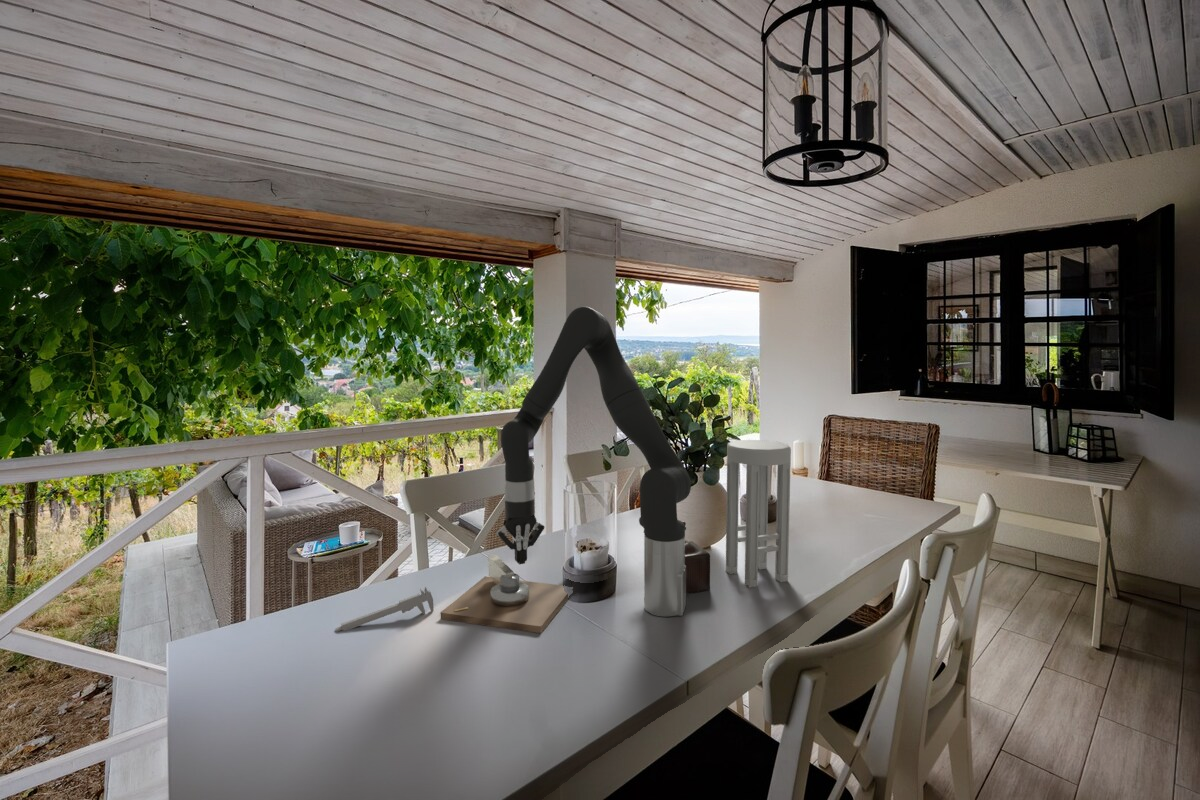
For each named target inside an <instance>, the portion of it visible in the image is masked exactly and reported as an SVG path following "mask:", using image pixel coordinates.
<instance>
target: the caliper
mask: <svg viewBox="0 0 1200 800" xmlns="http://www.w3.org/2000/svg"><path fill="white" fill-rule="evenodd" d="M419 591H420V593H417V594H414V595H411V596H409V597H407V598H403V599H401V600H399V601H398V603H395V604H392V605H389V606H387V607H384V608H382V609H377V610H375V611H372V612H370V613H368V614H364V615H360V616H359V617H356V618H353V619H350V620H348V621H344V622H343V623H341V626H338V627H336V628H335V630H334V632H335V633H338V632H339V631H346V630H352V629H354V628H357V627H360V626H362V625H365V624H368V623H370V622H373V621H376V620H378V619H381V618H384V617H386V616H389V615H390V616H391V615H392V614H395V613H397V612H402V614H405V613H406V612H410V611H411V610H413V609H414V608H415V607H417V608H418V610H419V611H420V613H422V615H423V616H424V615H426V609H425V607H424V604H423V603H425V602H427V603H428V606H429V610H430V613H431V614H432V613H433V612H435V611H434V598H433V595H432V592H431V590H428V589H427V586H424V590H423V589H422V588H420V589H419Z"/></svg>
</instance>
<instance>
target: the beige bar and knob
mask: <svg viewBox="0 0 1200 800" xmlns="http://www.w3.org/2000/svg"><path fill="white" fill-rule="evenodd" d="M487 558H488V559H487V560H488V561H487V563H488V566H487V567H488V571H487V572H488V577H491V579H492V580H493V581H494V582H495V583H496V584H497V585H495V586H494V587H492V588H491V590H490V594H491V602H492V603H494V604H496V605H499V606H515V605H519V604H522V603H524V602H526V601H527V600H528V599H529V597H530V594H529V586H528V585H527V584H525V583H522V582H519V580H520V575H519V574H518V573H514V571H513V570H512V568H510V567H509V566H508V565H507V564H506V563H505V562H504V561H503V560H502V559H501V558H500V557H499V556H498V555H497V554H491V555H488V557H487Z"/></svg>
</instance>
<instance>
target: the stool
mask: <svg viewBox="0 0 1200 800" xmlns="http://www.w3.org/2000/svg"><path fill="white" fill-rule="evenodd" d="M726 448H727V449H726V450H727V451H726V452H727V453H726V455H727V456H726V508H725V509H726V512H725V513H726V514H725V515H726V519H725V521H726V523H725V524H726V525H725V527H726V529H725V532H726V533H725V572H727V573H728V574H729V573H730V575H733V573H734V574H738V565H739V564H738V562H739V559H738V557H739V555H738V554H739V552H738V551H739V543H742V542H745V543H744V544H745V545H744V546H745V547H744V549H745V551H744V552H745V553H744V554H745V555H744V584H745V585H746V586H748V587H749V588H755V587H758V577H759V576H758V575H759V574H758V572H759V571H758V570H765V569H767V568H768V567H767V566H768V565H767V562H768V553H769V552H770V553H771V552H775V563H774V564H775V566H774V567H775V569H774V570H775V572H774V574H775V575H774V579H775V581H778V582H779V583H784V582H785V583H786V582H788V581H789V542H790V504H791V502H790V501H791V498H790V497H791V496H790V495H791V460H792V459H791V458H792V457H791V456H792V455H791V454H792V448H791V447H790V445H789V444H788V443H786V442H785V443H784V442H781V441H775V440H767V439H766V440H765V439H764V440H763V439H739V440H733V441H730V442H727V447H726ZM740 464H743V465H746V475H745V476H746V483H745V484H746V488H745V489H746V490H745V524H741V525H739V495H740V494H739V493H740V489H739V488H740V482H739V481H740V477H739V476H740ZM770 466H777V468H776V469H777V472H776V473H777V475H776V477H777V479H776V522H775V524H776V526H775V527H776V528H775V533H768V524H769V523H768V522H769V521H768V519H769V517H768V514H769V503H768V502H769V470H770V469H769V467H770ZM741 531H745V535H741V536H739V532H741ZM771 540H773V541H774V540H775V544H774V545H773V544H771V545H768V541H771Z"/></svg>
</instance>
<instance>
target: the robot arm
mask: <svg viewBox="0 0 1200 800" xmlns="http://www.w3.org/2000/svg"><path fill="white" fill-rule="evenodd" d="M563 324H564V325H563V326H562V329H561V330H560V333H559V335H558V338H557V340H556V342H555V344H554V346H553V348H552V351H551V353H550V355H549V357H548V359H547V360H546V362H545V364H544V366H543V368H542V370H541V372H540V373H539V375H538V377H537V378H536V379H535V381H534V383H533V384H532V385H531V387H530V388H529V390H528V392H527V393H526V395H525V397H524V398H523V400H522V403H521V404H522V405H521V408H520V409H519V411H518V412H517V414H516V416H515V417H514V418H513V419H512V420H509V421H508V422H506V423H505V424H504V426H503V427H502V429H501V434H500V435H501V436H500V438H501V439H500V441H501V448H502V454H503V458H504V462H505V466H504V467H505V468H504V472H505V473H504V474H505V479H504V480H505V482H504V517H505V519H504V522H503V526H502V527H501V528H500V529H496V530H495V534H496V535H497V536H498V538H499V539H500V540H501V541H502V542H503V543H504V544H505V545H506V546H507V547H508V548H509V549H510V550H512V551H513V550H514V561H515V562H516V563H517V564H518V565H524V564H526V562H527V560H528V548H529V547H533V546H534V545H535V544H536V542H537V541H538V539H539V537H540V536H541V534H542V532H544V530H545V525H543V524H542V523H540V522H538V521H537V518H536V515H535V514H536V510H535V509H536V502H535V499H536V498H535V497H536V496H535V495H536V492H535V482H534V462H533V458H532V457H531V456H530V447H529V445H530V444H529V443H530V442H532V440H534V438H535V437H536V435H537V433H538V432H539V430H540V428H541V426H542V425H543V422H544V420H545V418H546V416H547V415H548V414H549V412H550V411H551V410H552V408H553V407H554V405H555V404H556V403H557V401H558V399H559V397H560V396H561V394H562V392H563V390H564V387H565V384H566V382H567V378H568V375H569V371H570V369H571V367H572V366H573V363H574V361H575V359H576V358H577V356H578V355H579V354H580V353H581V352H582V350H583V349H584V350H585V351H586V353H587V354H588V356H589V358H590V359H591V361H592V363H593V365H594V366H595V369H596V371H597V374H598V380H599V385H600V390H601V395H602V399H603V401H604V403H605V407H606V409H607V410H608V412H609V413H608V414H610V417H611V418H612V421H613V422H614V424H615V425H616V427H617V428H618V429H619V431H621V432H622V434H624V435H625V436H626V438H627V439H629V440H630V441H631V443H633V444H634V445H635V446H636V447H637V448H638V449H639V450H640V452H641V454H642V455H643V457H644V458H645V460H646V462H647V464H648V466H649V469H648V470H647V471H646V472H645V473H643V475H642V477H641V480H640V485H639V509H640V517H641V522H642V525H643V527H644V528H643V527H642V528H643V534H644V535H643V537H644V538H643V539H644V541H643V543H644V555H643V556H644V558H643V559H644V562H643V564H644V565H643V566H644V567H643V568H644V570H643V571H644V573H643V575H644V576H643V579H644V580H643V581H644V583H643V584H644V587H643V589H644V590H643V591H644V593H643V594H644V597H643V603H644V604H643V607H644V610H645V611H646V612H647V613H649V614H651V615H653V616H658V617H675V616H684V615H683V614H684V611H685V609H686V605H687V594H686V565H685V540H686V530H685V527H686V525H684V523H683V522H682V520H679V519H678V510H677V507H678V506H677V504H678V503H681V502H682V501H684V500H686V499H687V498H688V497H689V495H690V493H691V490H692V481H691V477H690V475H689V473H688V471H687V469H686V467H685V466H684V464H683V463H682V462H681V459H680V458H679V457H678V454H676V452H675V450H674V449H673V447H672V445H670V442H669V441H668V439H667V438H666V436H665V433H664V432H663V430H662V428H661V426H660V424H659V422H658V420H657V418H656V416H655V414H654V412H653V411H652V409H651V406H650V404H649V402H648V400H647V397H646V396H645V394H644V392H643V390H642V388H641V386H640V384H639V382H638V381H637V379H636V377H635V376H634V374H633V372H632V370H631V369H630V367H629V365H628V364H627V362H626V361H625V358H624V357H623V355H622V352H621V350H620V347H619V345H618V342H617V340H616V337H615V334H614V331H613V329H612V326H611V324H610V322H609V320H608V319H607V317H605V315H604V314H602V313H601V312H599V311H597V310H596V309H594V308H592V307H589V306H579V307H576V308H575V309H573V310H572V311H571V312H570V313H569V314H568V317H567V318H566V320H565V322H564V323H563ZM508 533H509V534H510V535H511V538H512V541H511V540H510V539H509V538H508V536H507V535H508Z"/></svg>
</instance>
